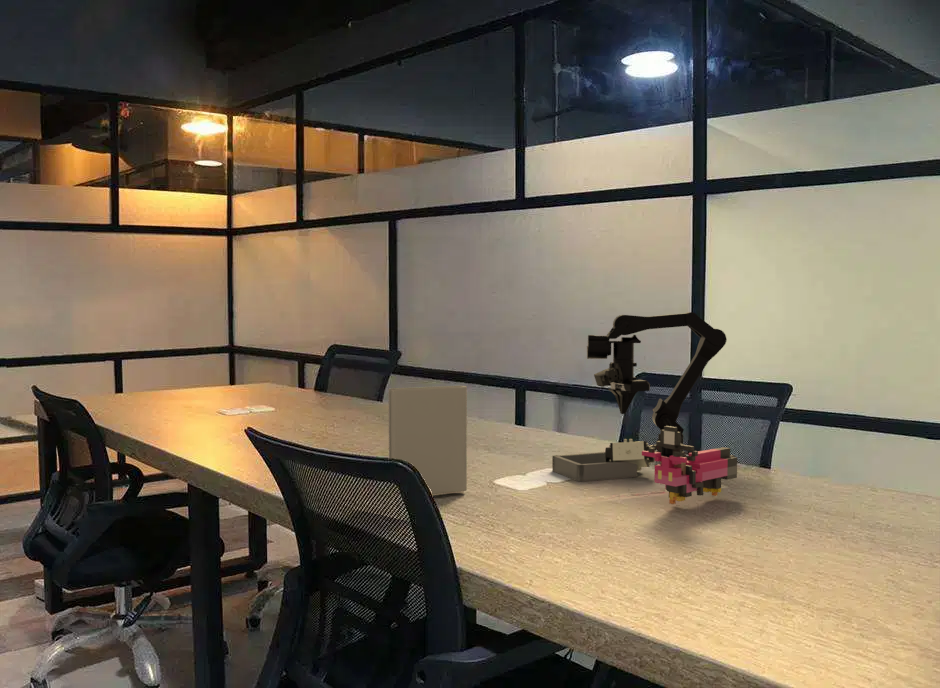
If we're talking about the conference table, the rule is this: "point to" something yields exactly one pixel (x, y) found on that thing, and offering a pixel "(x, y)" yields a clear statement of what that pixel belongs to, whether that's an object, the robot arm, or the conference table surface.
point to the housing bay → (591, 467)
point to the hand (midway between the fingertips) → (623, 414)
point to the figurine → (690, 467)
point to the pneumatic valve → (629, 453)
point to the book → (431, 434)
